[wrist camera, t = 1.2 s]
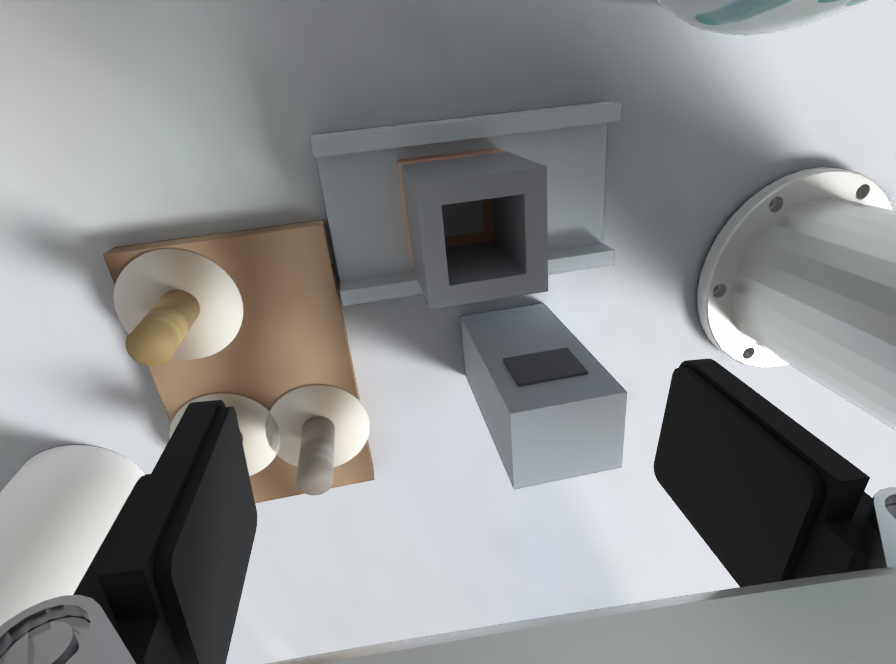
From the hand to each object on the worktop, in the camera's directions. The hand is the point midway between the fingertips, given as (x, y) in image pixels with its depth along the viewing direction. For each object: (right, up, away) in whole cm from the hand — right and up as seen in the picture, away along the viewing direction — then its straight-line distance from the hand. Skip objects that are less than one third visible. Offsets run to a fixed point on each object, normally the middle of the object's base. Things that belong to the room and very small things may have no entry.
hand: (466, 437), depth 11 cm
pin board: (-11, 0, +18) cm, 21 cm away
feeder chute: (+1, +9, +16) cm, 18 cm away
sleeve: (0, +9, +15) cm, 18 cm away
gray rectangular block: (+3, +2, +20) cm, 20 cm away
